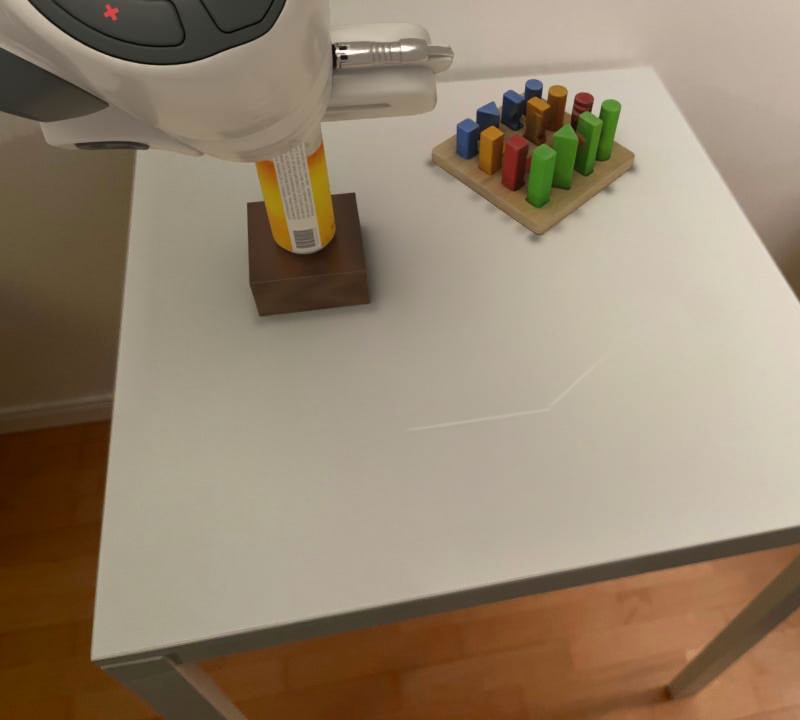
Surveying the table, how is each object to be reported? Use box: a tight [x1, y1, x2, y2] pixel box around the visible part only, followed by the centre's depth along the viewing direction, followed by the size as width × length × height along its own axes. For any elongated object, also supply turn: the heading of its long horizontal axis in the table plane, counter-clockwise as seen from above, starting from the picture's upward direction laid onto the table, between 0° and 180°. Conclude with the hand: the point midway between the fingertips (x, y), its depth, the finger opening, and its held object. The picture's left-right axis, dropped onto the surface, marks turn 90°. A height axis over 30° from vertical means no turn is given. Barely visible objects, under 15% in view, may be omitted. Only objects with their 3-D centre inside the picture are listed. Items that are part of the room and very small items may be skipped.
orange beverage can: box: [254, 122, 336, 254], centre depth 67 cm, size 6×6×15 cm
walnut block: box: [246, 192, 371, 317], centre depth 75 cm, size 11×11×5 cm
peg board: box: [431, 78, 636, 235], centre depth 85 cm, size 18×17×9 cm
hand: (264, 108), depth 47 cm, fingers open, 8 cm apart
